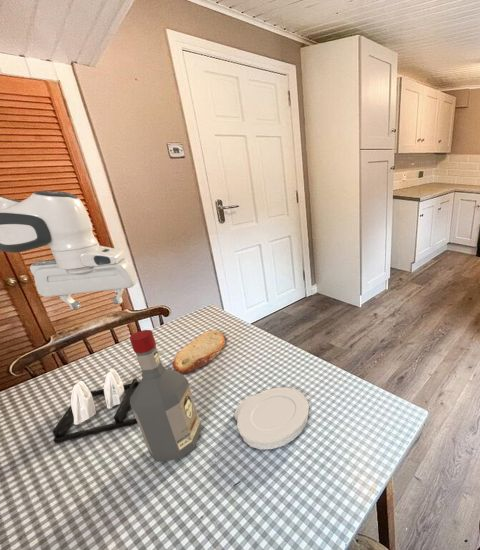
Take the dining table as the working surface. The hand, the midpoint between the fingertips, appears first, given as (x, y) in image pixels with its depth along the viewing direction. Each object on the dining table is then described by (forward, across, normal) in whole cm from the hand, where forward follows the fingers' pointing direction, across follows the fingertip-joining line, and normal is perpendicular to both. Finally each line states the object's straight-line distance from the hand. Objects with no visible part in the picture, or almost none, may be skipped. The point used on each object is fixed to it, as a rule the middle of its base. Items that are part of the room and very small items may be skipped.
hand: (98, 305), depth 81 cm
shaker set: (+25, -1, -12) cm, 28 cm away
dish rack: (+25, +2, -12) cm, 28 cm away
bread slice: (+25, +19, +8) cm, 33 cm away
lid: (+25, +41, -29) cm, 56 cm away
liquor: (+25, +20, -29) cm, 44 cm away
